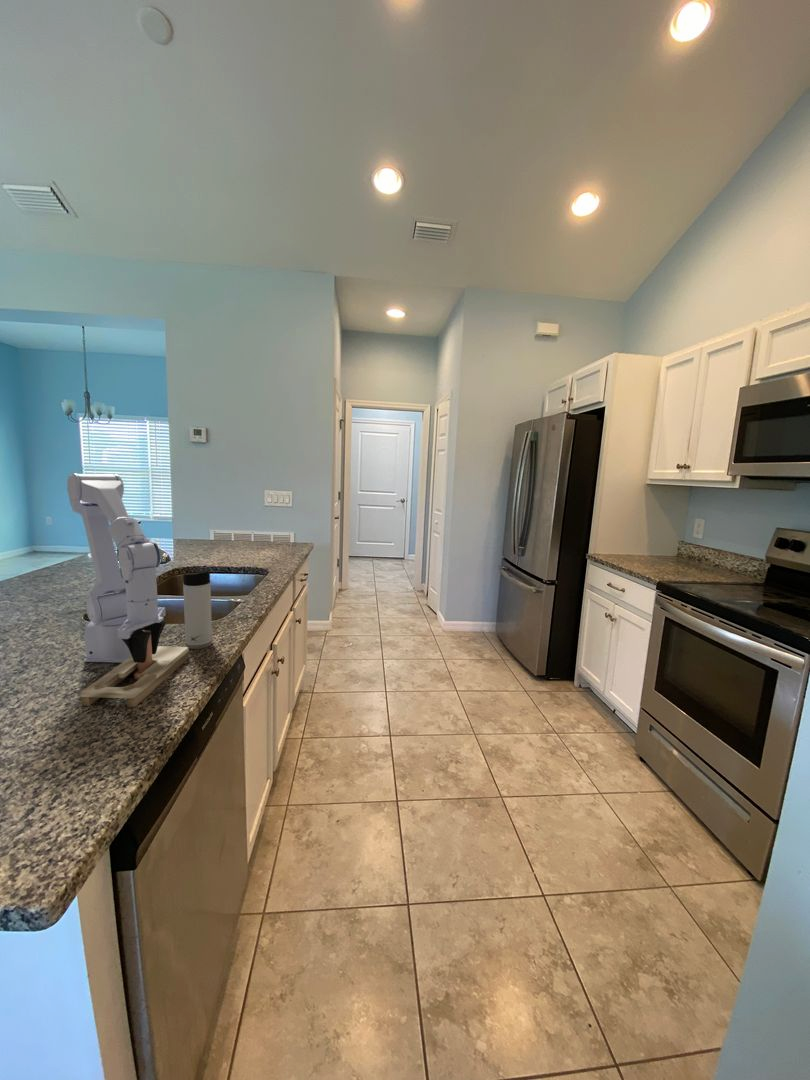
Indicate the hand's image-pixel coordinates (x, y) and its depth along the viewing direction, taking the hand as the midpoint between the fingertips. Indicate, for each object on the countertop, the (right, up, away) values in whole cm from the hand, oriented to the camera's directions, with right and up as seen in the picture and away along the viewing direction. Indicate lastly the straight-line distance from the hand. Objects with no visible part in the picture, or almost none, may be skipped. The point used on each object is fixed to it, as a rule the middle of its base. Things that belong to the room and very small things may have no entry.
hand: (145, 657), depth 95 cm
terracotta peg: (0, -4, +1) cm, 4 cm away
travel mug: (+3, -2, +18) cm, 18 cm away
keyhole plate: (0, -4, -1) cm, 4 cm away
